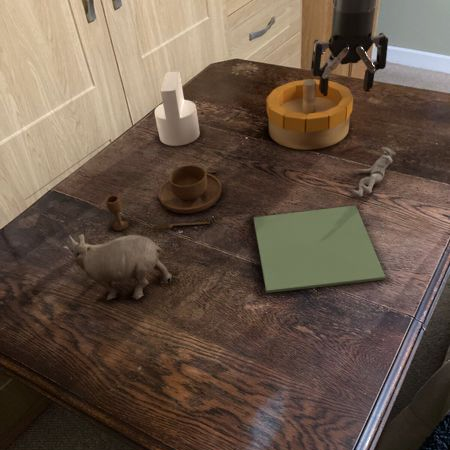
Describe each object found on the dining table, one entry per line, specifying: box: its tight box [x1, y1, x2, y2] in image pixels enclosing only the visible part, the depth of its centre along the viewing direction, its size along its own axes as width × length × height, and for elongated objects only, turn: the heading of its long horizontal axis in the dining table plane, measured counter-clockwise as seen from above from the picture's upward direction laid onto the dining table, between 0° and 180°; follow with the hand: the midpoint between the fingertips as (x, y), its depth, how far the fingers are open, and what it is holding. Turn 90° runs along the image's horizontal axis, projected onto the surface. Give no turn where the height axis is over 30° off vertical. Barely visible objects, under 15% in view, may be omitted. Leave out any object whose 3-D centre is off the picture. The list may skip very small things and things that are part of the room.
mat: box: [253, 204, 386, 294], centre depth 80 cm, size 18×18×1 cm
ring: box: [266, 78, 354, 132], centre depth 102 cm, size 17×17×3 cm
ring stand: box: [267, 79, 351, 151], centre depth 103 cm, size 17×17×10 cm
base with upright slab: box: [154, 71, 201, 147], centre depth 105 cm, size 9×9×12 cm
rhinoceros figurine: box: [62, 233, 173, 301], centre depth 76 cm, size 8×14×15 cm
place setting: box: [104, 164, 222, 232], centre depth 91 cm, size 18×20×6 cm
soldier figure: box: [351, 146, 397, 198], centre depth 90 cm, size 8×5×12 cm
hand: (345, 92), depth 101 cm, fingers open, 8 cm apart
